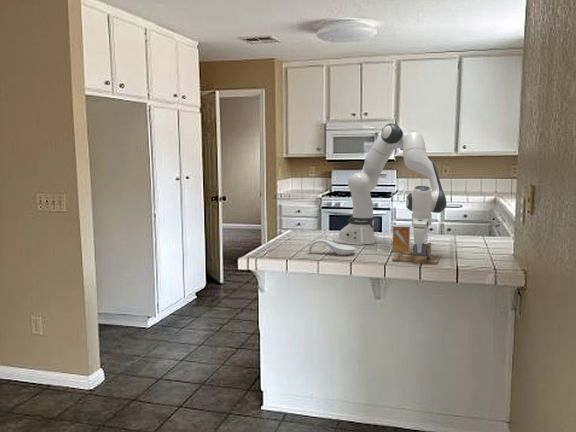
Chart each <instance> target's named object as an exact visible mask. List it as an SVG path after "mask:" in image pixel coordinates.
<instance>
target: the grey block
mask: <svg viewBox="0 0 576 432" xmlns="http://www.w3.org/2000/svg"><path fill="white" fill-rule="evenodd" d="M412 252H413V256H427V243H424V244H422V252H421V253H418V252H417V244H415V243H413V244H412Z"/></svg>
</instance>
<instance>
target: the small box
mask: <svg viewBox="0 0 576 432" xmlns="http://www.w3.org/2000/svg"><path fill="white" fill-rule="evenodd" d="M410 242H411V225H408V224H394V225H393V227H392V252H396V253H397V252H398V253H400V252H401V251H402V252H410V245H411V243H410Z"/></svg>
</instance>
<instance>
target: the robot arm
mask: <svg viewBox="0 0 576 432" xmlns="http://www.w3.org/2000/svg"><path fill="white" fill-rule="evenodd" d="M395 149H400V150H401V151H402V155H403V157H402V158H403V162H404V165H405V167H406V168H407V169H409V170H410V171H412V172H415V173H419V174H421V175H424V176H425V177H427V179H428V180H429V183H430V186H428V185H417V186H415V187H413V191H412V192H409V194H408V195H406V204H405V205H406V208H407V210H409V211H410V212H411V226H412V228H413V241H414V242H413V243H414V244H417V252H418V253H421V252H422V244H426V240H427V239H428V230H429V227H431V226H432V220H433V219H432V213H437V214H440V213H442V212H443V211H444V210H446V209H447V198H446V195H445V193H444V190H443V188H442V187H443V186H442V183H441V181H440V176H439V174H438V169H437V167H436V165H435V163H434V162H433V161H431V160H430V159H429V157H428V155H427V148H426V143H425V138H424V136H423V135H422V134H421V133H420V132H418V131H414V130H411V129H409V128H408V127H405V126H403V125H398V124H397V123H393V122H392V123H391V122H390V123H387V124H386V125H385V126H384V127H383V128H382V130H381V133H380V135H379V136H378V137H377V139H376V140H375V141H374V142H373V144H372V146H371V148H370V149H369V151H368V153H367V154H366V156H365V158H364V164H363V166H362V169H361V171H359V172H356V173H353V174H352V175H351V176H350V177H349V178H348V179H347V180H348V181H347V187H348V188H349V191H350V195H351V199H352V216H350V217H349V219H348V222H349V223H348V224H347V225H345V226H344V227H342V228H341V229H340V231H339V235H338V237H337V238H335V239H334V243H337V244H344V245H345V244H347V245H356V246H361V245H362V246H363V245H372V244H375V243H376V238H375V233H374V226H375V219H374V214H373V213H374V203H373V200H372V195H371V191H373V190H374V189H376V187H377V186H378V183H379V179H380V177H381V174H382V171H383V169H384V168H385V166H386V164H387V163H388V161H389V159H390V158H391V156H392V154H393V151H394V150H395Z"/></svg>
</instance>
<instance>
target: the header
mask: <svg viewBox="0 0 576 432" xmlns="http://www.w3.org/2000/svg"><path fill="white" fill-rule="evenodd" d="M426 244H427V256H413V251H409V252H402V251H401V252H398V253H397V252H396V254H395V256H393V258H392V259H391V261H392V262H395V261H396V262H397V263H398V262H399V263H409V262H412V263H413V264H423V263H425V264H427V265H438V264H439V261H440V259H441V255H432V243H431V242H427V243H426ZM425 264H424V265H425Z"/></svg>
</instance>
